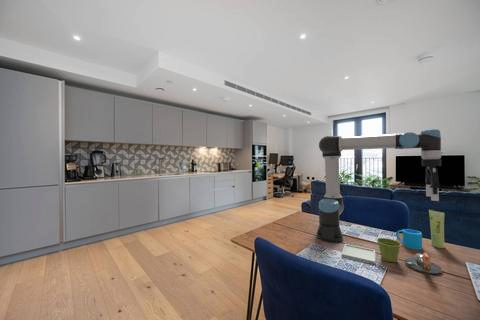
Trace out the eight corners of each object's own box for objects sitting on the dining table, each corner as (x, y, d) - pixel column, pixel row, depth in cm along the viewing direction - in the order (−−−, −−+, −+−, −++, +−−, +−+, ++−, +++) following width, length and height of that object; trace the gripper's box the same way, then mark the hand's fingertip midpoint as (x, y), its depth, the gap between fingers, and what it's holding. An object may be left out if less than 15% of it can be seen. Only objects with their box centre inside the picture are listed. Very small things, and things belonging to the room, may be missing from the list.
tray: (341, 256, 97) (341, 253, 97) (345, 246, 109) (344, 243, 109) (375, 264, 89) (375, 261, 89) (375, 252, 101) (375, 249, 101)
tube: (430, 246, 107) (429, 211, 107) (429, 243, 110) (428, 209, 111) (445, 249, 103) (444, 212, 103) (443, 245, 107) (442, 210, 107)
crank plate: (407, 269, 85) (406, 265, 85) (403, 257, 95) (403, 254, 95) (445, 278, 78) (445, 274, 78) (437, 264, 88) (437, 261, 88)
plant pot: (395, 266, 87) (395, 247, 87) (373, 257, 96) (372, 240, 96) (405, 261, 92) (405, 243, 92) (383, 253, 100) (383, 236, 100)
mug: (425, 247, 105) (425, 232, 105) (417, 250, 102) (416, 235, 102) (400, 239, 116) (399, 226, 116) (392, 242, 113) (391, 228, 113)
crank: (415, 260, 90) (414, 244, 90) (428, 262, 87) (427, 246, 87) (420, 272, 80) (419, 255, 80) (435, 276, 77) (434, 258, 77)
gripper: (447, 158, 91) (448, 203, 90) (435, 158, 111) (436, 195, 110) (425, 158, 95) (426, 201, 95) (418, 158, 115) (419, 194, 115)
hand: (432, 198), depth 103 cm, fingers open, 13 cm apart
